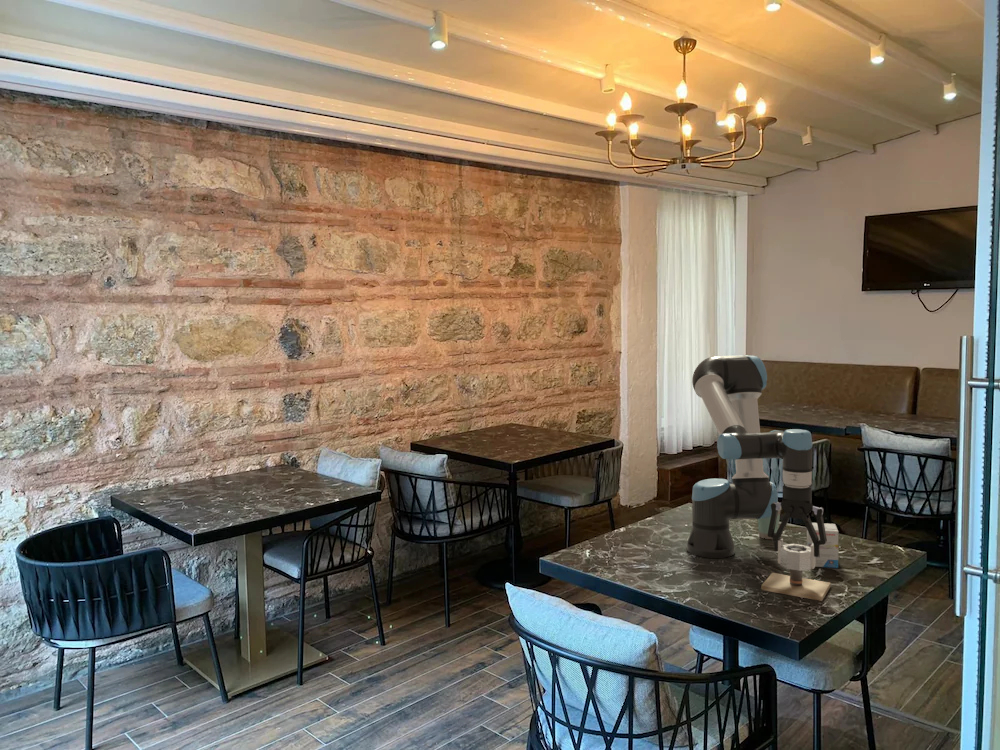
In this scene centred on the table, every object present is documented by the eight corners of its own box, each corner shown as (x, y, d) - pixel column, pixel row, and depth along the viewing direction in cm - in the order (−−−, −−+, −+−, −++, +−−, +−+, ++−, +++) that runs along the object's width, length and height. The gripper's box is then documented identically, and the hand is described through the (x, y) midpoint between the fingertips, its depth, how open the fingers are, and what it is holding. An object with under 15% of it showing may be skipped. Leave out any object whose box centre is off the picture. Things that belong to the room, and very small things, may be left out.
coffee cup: (785, 540, 252) (785, 505, 251) (759, 540, 252) (760, 506, 251) (776, 532, 260) (776, 499, 259) (751, 533, 260) (751, 499, 259)
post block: (761, 589, 208) (761, 550, 207) (772, 576, 218) (772, 539, 217) (822, 601, 199) (822, 560, 198) (830, 586, 209) (831, 548, 208)
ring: (778, 567, 206) (778, 549, 206) (785, 559, 213) (785, 542, 213) (808, 572, 202) (808, 554, 201) (814, 564, 208) (814, 546, 208)
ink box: (835, 559, 231) (836, 523, 230) (838, 568, 223) (839, 531, 222) (806, 557, 234) (806, 521, 233) (807, 566, 226) (808, 529, 225)
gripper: (755, 483, 209) (755, 562, 210) (834, 492, 197) (834, 575, 199) (762, 478, 215) (762, 555, 216) (839, 486, 203) (839, 567, 205)
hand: (796, 564), depth 207 cm, fingers closed on ring, 8 cm apart
